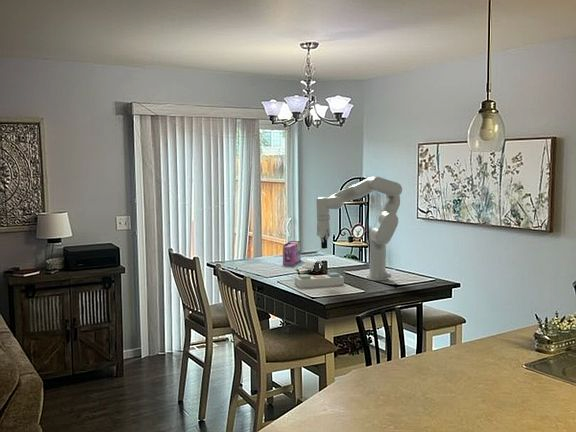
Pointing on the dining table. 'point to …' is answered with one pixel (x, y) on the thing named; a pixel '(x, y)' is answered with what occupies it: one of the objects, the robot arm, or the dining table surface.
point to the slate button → (334, 274)
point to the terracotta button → (319, 276)
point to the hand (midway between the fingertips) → (324, 248)
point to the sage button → (305, 276)
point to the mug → (311, 264)
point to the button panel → (319, 281)
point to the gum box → (291, 252)
